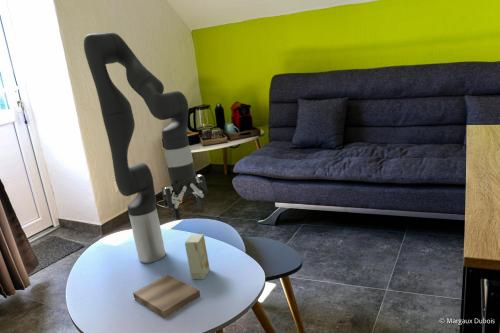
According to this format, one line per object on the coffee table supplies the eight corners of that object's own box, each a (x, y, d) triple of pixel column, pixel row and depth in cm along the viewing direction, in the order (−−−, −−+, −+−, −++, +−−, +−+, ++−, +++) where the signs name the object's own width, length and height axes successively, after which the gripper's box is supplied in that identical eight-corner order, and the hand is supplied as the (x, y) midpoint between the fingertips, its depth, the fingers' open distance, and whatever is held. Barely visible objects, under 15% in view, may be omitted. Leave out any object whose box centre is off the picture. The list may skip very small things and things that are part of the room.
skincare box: (204, 279, 130) (197, 242, 127) (190, 279, 131) (183, 243, 128) (210, 268, 136) (204, 233, 133) (197, 269, 137) (191, 233, 134)
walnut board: (134, 298, 125) (132, 292, 124) (168, 280, 133) (167, 274, 132) (164, 318, 114) (163, 311, 113) (200, 296, 121) (199, 290, 121)
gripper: (191, 154, 131) (200, 204, 136) (151, 167, 122) (162, 220, 126) (207, 156, 126) (215, 208, 130) (166, 170, 117) (177, 225, 121)
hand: (189, 214), depth 128 cm, fingers open, 8 cm apart
